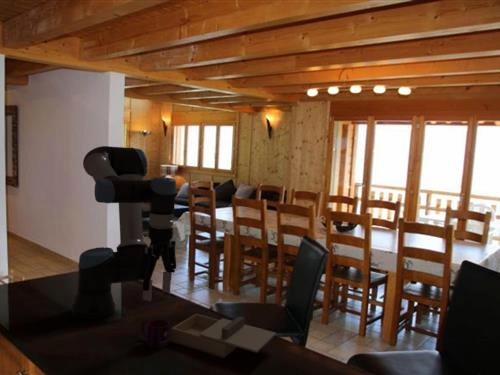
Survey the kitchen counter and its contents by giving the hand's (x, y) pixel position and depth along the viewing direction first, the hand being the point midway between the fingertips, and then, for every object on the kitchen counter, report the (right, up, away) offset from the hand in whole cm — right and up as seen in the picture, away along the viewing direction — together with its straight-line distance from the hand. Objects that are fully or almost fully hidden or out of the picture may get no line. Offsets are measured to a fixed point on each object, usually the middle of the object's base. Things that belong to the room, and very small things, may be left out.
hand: (156, 295), depth 139 cm
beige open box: (+16, -16, +5) cm, 24 cm away
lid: (+26, -13, +1) cm, 29 cm away
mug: (-1, -16, +1) cm, 16 cm away
